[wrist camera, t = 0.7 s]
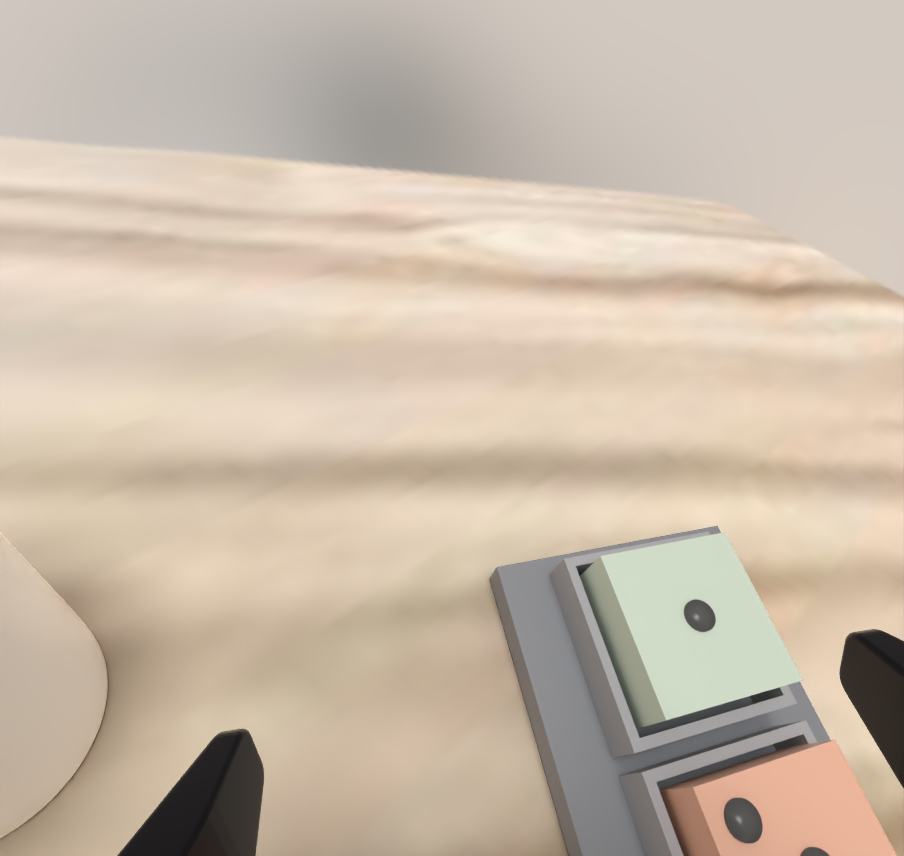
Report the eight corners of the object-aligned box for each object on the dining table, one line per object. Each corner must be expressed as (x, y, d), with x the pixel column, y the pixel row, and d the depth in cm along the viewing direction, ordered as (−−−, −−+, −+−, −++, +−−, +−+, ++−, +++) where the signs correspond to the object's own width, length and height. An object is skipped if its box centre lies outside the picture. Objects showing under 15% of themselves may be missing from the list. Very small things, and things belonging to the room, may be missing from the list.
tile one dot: (762, 692, 23) (806, 679, 21) (634, 729, 21) (668, 719, 19) (694, 554, 26) (726, 530, 24) (578, 577, 25) (601, 554, 22)
